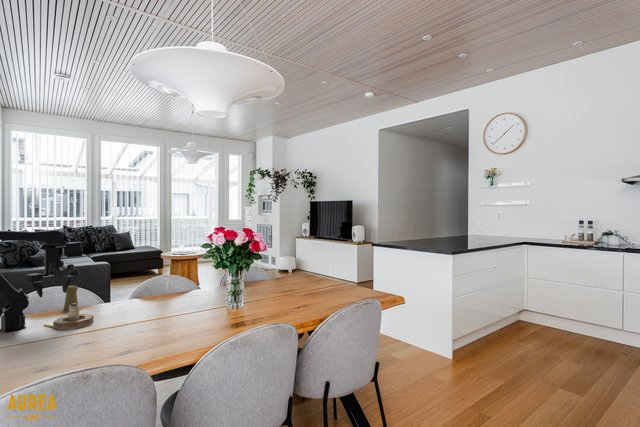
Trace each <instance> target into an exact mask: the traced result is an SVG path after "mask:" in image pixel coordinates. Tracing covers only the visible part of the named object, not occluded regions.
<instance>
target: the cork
mask: <svg viewBox="0 0 640 427" xmlns="http://www.w3.org/2000/svg"><path fill="white" fill-rule="evenodd" d="M77 292H78V285H68V288H67V290H66V292H65V298H64V299H65V300H64V305H63V310H69V306H70V305H71V304H72V303H78V302H79V301H78V294H77ZM78 304H79V303H78Z"/></svg>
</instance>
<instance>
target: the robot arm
mask: <svg viewBox="0 0 640 427" xmlns="http://www.w3.org/2000/svg"><path fill="white" fill-rule="evenodd" d="M0 241H30V242H34V241H35V242H39V243H40V242H41V243H42V244H41V246H39V247H38V249H40V250H44V260H43V261H42V264H43V265H44V270H43V271H42V273H38V272H35V273H28V274H25V275H24V278H23V281H24V282H26V283H28V284H31V286H32V287H33V288H34V290H35V292H36V294H37V295H38V298H42V297H43V294H44V292H43V285H44V282H45V281H44V280H43V279H48V278H49V279H50V278H55V277H56V278H57V279H58V278H61V285H62V286H61V287H62V288H61V289H62V293H65V294H66V290H67V288H68V286H70V283H71V282H72V280H73V279H75V278H76V277H77V276H79V275H80V270H79V269H78V268H75V265H74V264H71V263H70V264H67V265H65V263H64V260H62V256H65V258H67V259H69V258H71V259H72V258H81V257H83V254H84V253H83V247H82V241H74V242H67V241H66V240H65V239H63V234H62V232H60V231H59V230H55V229H47V230H39V231H17V230H16V231H15V230H12V231H11V230H0ZM56 244H57V245H60V246H56ZM0 292H1V293H2V295H3V297H4V298H5V300H6V303H7V304H6V305H5V306H4V307H2V313H3V314H2V315H1V316H0V332H3V333H11V332H14V331H15V332H16V331H19V330H24V329H26V328H27V326H25V325H26V316H25V313H24V310H26V309H27V308H28V307H29V305H30V302H29V299H30V297H29V295H28V294H26V293H25V292H24V291H23V289H22V288H21V287H20V288H19V289H16V288H15V287H13V286H12V284H11V283H10V282H9V281H8V280H7V279H6V278H5V276H3V275H2V273H0Z"/></svg>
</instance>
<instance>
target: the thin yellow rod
mask: <svg viewBox="0 0 640 427" xmlns="http://www.w3.org/2000/svg"><path fill="white" fill-rule="evenodd" d="M43 326H44V327H49V328H53V324H47V323H44V324H43Z"/></svg>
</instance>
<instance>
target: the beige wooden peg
mask: <svg viewBox="0 0 640 427" xmlns="http://www.w3.org/2000/svg"><path fill="white" fill-rule="evenodd" d="M79 314H80V304H79V303H72V304H71V305H70V306H69V309H68V316H69V321H77V320H79Z"/></svg>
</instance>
